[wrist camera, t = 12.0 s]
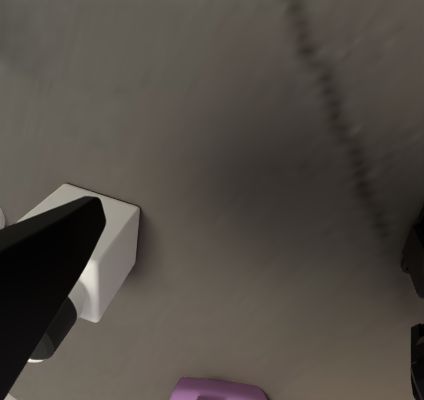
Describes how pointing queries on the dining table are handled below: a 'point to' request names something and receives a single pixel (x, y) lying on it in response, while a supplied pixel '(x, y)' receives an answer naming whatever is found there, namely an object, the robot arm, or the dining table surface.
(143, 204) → the dining table surface
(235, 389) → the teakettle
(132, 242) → the medicine bottle
